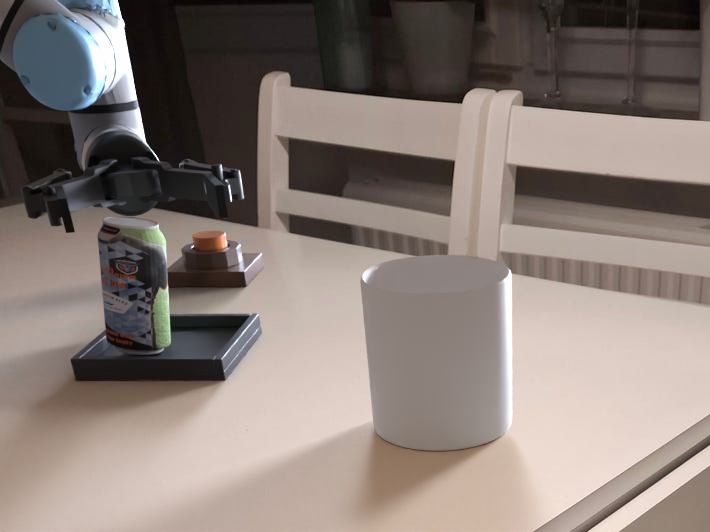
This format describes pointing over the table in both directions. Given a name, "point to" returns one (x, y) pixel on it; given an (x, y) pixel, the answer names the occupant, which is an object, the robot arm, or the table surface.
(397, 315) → the white cylinder
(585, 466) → the table surface
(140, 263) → the beverage can
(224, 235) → the button
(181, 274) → the block
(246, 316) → the tray
